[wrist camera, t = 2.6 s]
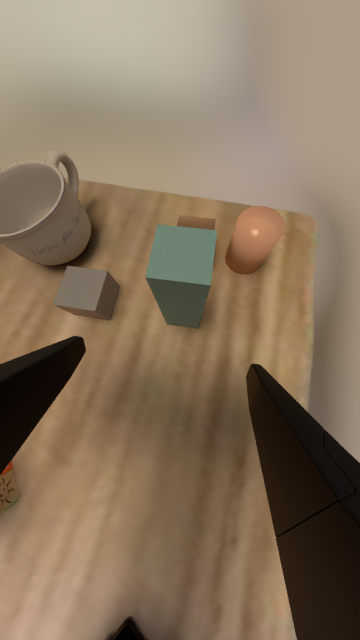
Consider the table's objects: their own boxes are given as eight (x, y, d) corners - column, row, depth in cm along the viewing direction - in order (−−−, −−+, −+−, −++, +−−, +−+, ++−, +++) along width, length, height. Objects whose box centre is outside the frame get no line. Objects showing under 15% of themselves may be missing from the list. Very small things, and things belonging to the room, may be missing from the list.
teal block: (197, 328, 22) (210, 285, 10) (166, 324, 22) (145, 277, 11) (201, 299, 23) (217, 230, 11) (172, 295, 23) (157, 224, 12)
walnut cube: (207, 271, 24) (211, 250, 20) (175, 267, 24) (172, 246, 20) (210, 244, 25) (215, 219, 21) (180, 241, 25) (179, 215, 21)
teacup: (67, 288, 24) (10, 251, 16) (14, 254, 26) (-58, 206, 18) (127, 219, 27) (103, 159, 19) (75, 192, 29) (35, 128, 21)
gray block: (110, 320, 23) (95, 311, 19) (75, 314, 23) (52, 304, 19) (120, 286, 24) (107, 271, 20) (86, 281, 24) (67, 265, 20)
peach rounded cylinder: (268, 257, 24) (294, 222, 18) (246, 280, 23) (265, 252, 18) (240, 237, 25) (256, 198, 19) (218, 259, 24) (227, 226, 19)
